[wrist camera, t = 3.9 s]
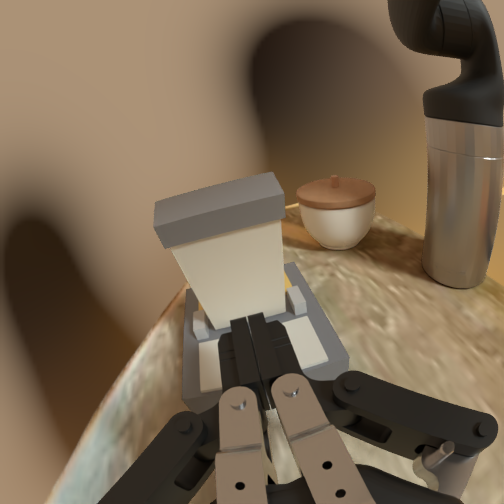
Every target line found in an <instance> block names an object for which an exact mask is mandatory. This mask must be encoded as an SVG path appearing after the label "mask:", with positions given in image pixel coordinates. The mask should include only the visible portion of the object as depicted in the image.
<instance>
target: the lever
mask: <svg viewBox="0 0 504 504" xmlns="http://www.w3.org/2000/svg"><path fill="white" fill-rule="evenodd" d="M283 218H286V216H285V198H284V192H283V190H282V188H281V186H280V185H279V183H278V181H277V179H276V177H275V176H274V173H273V172H268V173H264V174H259V175H255V176H250V177H246V178H242V179H237V180H233V181H229V182H225V183H221V184H217V185H213V186H209V187H206V188H202V189H198V190H194V191H191V192H188V193H184V194H180V195H177V196H173V197H170V198H166V199H163V200H160V201H157V202H155V210H154V229H155V231H156V233H157V235H158V237H159V239H160V241H161V243H162V244H163V246H164V248H165V249H166V248H170V249H171V251H172V253H173V255H174V257H175V259H176V260H177V262H178V264H179V266H180V268H181V270H182V272H183V274H184V275H185V277H186V279H187V281H188V283H189V284H190V286H191V288H192V290H193V292H194V293H195V295H196V297H197V299H198V300H199V302H200V304H201V306H202V307H203V309H204V311H205V312H206V314H207V316H208V318H209V319H210V321H211V323H212V324H213V326H214V328H215V329H216V330H217V329H221V328H226V327H230V326H231V325H230V320H233V319H237V318H241V317H245V316H246V319H247V322H248V318H247V316H249V315H253V314H256V313H260V312H263V314H264V317H269V316H273V315H277V314H280V313H284V312H286V306H285V283H284V263H283V245H282V228H281V219H283Z"/></svg>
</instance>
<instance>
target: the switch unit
mask: <svg viewBox="0 0 504 504" xmlns="http://www.w3.org/2000/svg"><path fill="white" fill-rule="evenodd" d="M284 283H285V306H286V312H284V313H280V314H277V315H273V316H269V317H265V320H266V323H268V322H271V321H275V320H278V321H279V322H280V323H282V324H283V325H284V326H285V328H286V330H287V333H288V336H289V338H290V341H291V344H292V346H293V349H294V351H295V354H296V356H297V359H298V362H299V364H300V367H301V369H302V371H303V373H304V374H305V375H306V376H307V377H309V378H311V379H314V380H319V381H325V380H335V379H336V378H337V377H338V376H339V375H340V374H342V373H344V372H347V371H348V366H349V355H348V353H347V352H346V350H345V348H344V346H343V345H342V343H341V341H340V339H339V338H338V336H337V334H336V332H335V331H334V329H333V327H332V325H331V324H330V322H329V320H328V318H327V317H326V315H325V313H324V311H323V310H322V308H321V306H320V305H319V303H318V301H317V299H316V298H315V296H314V294H313V293H312V291H311V289H310V288H309V286H308V284H307V283H306V281H305V279H304V278H303V276H302V274H301V273H300V271H299V269H298V268H297V266H296V264H295V263H294V262H291V263H287V264H284ZM248 325H249V322H248ZM249 329H250V327H249ZM228 332H231V326H230V327H226V328H221V329H217V330H216V329H215V328H214V326H213V324H212V323H211V321H210V319H209V318H208V316H207V314H206V312H205V311H204V309H203V307H202V306H201V304H200V302H199V300H198V299H197V297H196V295H195V293H194V292H193V290H192V288H190V289H186V302H185V318H184V338H183V367H182V400H183V401H184V403H185V404H186V405H187V406H188V408H189V409H190V410H191V411H192V412H194V413H196V414H197V415H198V414H200V413H202V412H204V411H206V410H208V409H210V408H212V407H214V406H215V405H216V404H217V403H218V402H219V400H220V398H221V396H222V382H221V373H220V363H219V362H220V361H219V353H218V341H219V339H220V336H221V334H224V333H228ZM250 332H251V331H250ZM266 394H267V393H266ZM267 398H268V396H267ZM268 402H269V399H268ZM269 404H270V402H269Z"/></svg>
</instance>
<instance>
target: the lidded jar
mask: <svg viewBox="0 0 504 504" xmlns="http://www.w3.org/2000/svg"><path fill="white" fill-rule="evenodd" d="M375 194H376V193H375V187H374V185H373V184H371V183H370V182H367V181H365V180H361V179H356V178H339V177H338V175H332V176H331V178H328V179H321V180H316V181H313V182H310V183H307V184H305V185H303V186H301V187H300V188H299V189H298V190H297V192H296V195H297V200H298V203H299V210H300V214H301V218H302V221H303V224H304V226H305V228H306V230H307V232H308V233H309V234H310V235H311V237H313V238H314V239H315V240H316V241H318V242H319V244H320V245H321V246H323V247H324V248H327V249H331V250H345V249H350V248H352V247H355V246H356V245H357V244H358V243H359V242H360V240H361V239H362V238H364V236H365V235H366V234H367V233H368V231H369V230H370V228H371V225H372V222H373V218H374V212H375Z"/></svg>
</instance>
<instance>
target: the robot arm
mask: <svg viewBox="0 0 504 504" xmlns="http://www.w3.org/2000/svg"><path fill="white" fill-rule="evenodd" d="M388 10H389V16H390V21H391V24H392V27H393V30H394V32H395V34H396V35H397V37H398V39H399V40H400V41H401V42H402V44H403V45H405V46H406V47H407V48H409V49H410V50H413V51H415V52H418V53H423V54H428V55H434V56H435V55H436V56H443V57H450V58H457V59H460V60H461V74H460V76H459V77H458V78H457V79H456V80H454V81H452V82H450V83H448V84H445V85H442V86H438V87H435V88H431V89H429V90H427V91H425V92H424V94H423V106H424V115H425V125H426V139H427V158H428V193H427V213H426V228H425V236H424V246H423V254H422V266H423V268H424V270H425V271H426V273H427V274H428V275H429V276H431V277H432V278H433V279H435V280H436V281H438V282H440V283H442V284H444V285H447V286H450V287H455V288H471V287H475V286H477V285H479V284H480V283H481V282H483V280H484V278H485V276H486V272H487V269H488V265H489V261H490V257H491V252H492V249H493V244H494V240H495V234H496V229H497V223H498V217H499V211H500V202H501V195H502V184H503V169H504V130H503V107H504V80H503V73H502V67H501V61H500V56H499V49H498V44H497V40H496V35H495V31H494V28H493V24H492V21H491V18H490V16H489V13H488V11H487V9H486V7H485V5H484V4H483V2H482V1H481V0H388ZM247 318H248V322H249V325H248V322H247V319H246V316H245V317H241V318H237V319H233V320H230V325H231V332H228V333H224V334H221V336H220V339H219V341H218V353H219V361H220V362H219V363H220V373H221V382H222V396H221V398H220V400H219V402H218V403H217V404H216V405H215V406H214V407H212V408H210V409H208V410H206V411H204V412H202V413H200V414H198V415H197V414H196V413H194V412H190V411H183V412H180V413H177V414H176V415H174V416H173V417H172V418H171V419H170V420H169V422H168V423H167V424H166V425H165V426H164V428H163V429H162V430H161V431H160V432H159V434H158V435H157V436H156V437H155V438H154V440H153V441H152V442H151V443H150V444H149V446H148V447H147V448H146V449H145V450H144V452H143V453H142V454H141V455H140V456H139V457H138V459H137V460H136V461H135V462H134V463H133V464H132V465H131V467H130V468H129V469H128V470H127V471H126V472H125V473H124V475H123V476H122V477H121V478H120V479H119V480H118V481H117V482H116V484H115V485H114V486H113V487H112V488H111V489H110V490H109V491H108V492H107V493H106V495H105V496H104V497H103V498H102V499H101V500H100V501H99V502H98V503H97V504H188V503H189V502H190V501H191V499H192V498H193V497H194V496H195V494H196V493H197V492H198V490H199V489H200V488H201V486H202V485H203V484H204V482H205V481H206V480H207V478H208V477H209V476H210V474H211V473H212V472H213V470H214V469H215V471H216V494H217V499H215V500H214V501H213V502H212V503H210V504H464V503H463V502H462V501H461V500H460V498H461V496H462V494H463V491H464V489H465V487H466V485H467V483H468V480H469V478H470V476H471V473H472V471H473V468H474V466H475V463H476V461H477V458H478V455H479V454H480V452H482V451H483V450H484V449H485V448H487V447H488V446H489V445H491V444H492V443H493V441H494V440H495V438H496V436H497V433H498V424H497V421H496V419H495V418H494V417H493V416H492V415H490V414H487V413H483V412H479V411H476V410H472V409H468V408H465V407H461V406H458V405H454V404H451V403H448V402H444V401H441V400H438V399H435V398H432V397H429V396H426V395H423V394H420V393H417V392H414V391H411V390H408V389H405V388H402V387H400V386H397V385H394V384H391V383H388V382H386V381H383V380H380V379H378V378H375V377H373V376H370V375H367V374H365V373H362V372H359V371H347V372H344V373H342V374H340V375H339V376H338V377H337V378H336V379H335V380H325V381H319V380H314V379H311V378H309V377H307V376H306V375H305V374H304V373H303V371H302V369H301V367H300V364H299V362H298V359H297V356H296V354H295V351H294V349H293V346H292V344H291V341H290V338H289V336H288V333H287V330H286V328H285V326H284V325H283V324H282V323H280V322H279V321H278V320H275V321H271V322H268V323H266V320H265V317H264V314H263V312H260V313H256V314H253V315H249V316H247ZM249 327H250V329H249ZM250 331H251V332H250ZM266 393H267V394H266ZM267 396H268V398H267ZM268 399H269V402H270V405H271V408H272V409H274V408H276V410H277V413H278V416H279V419H280V423H281V426H282V428H283V431H284V433H285V436H286V439H287V441H288V444H289V446H290V449H291V451H292V454H293V457H294V459H295V462H296V465H297V467H298V470H299V472H300V475H301V477H300V478H298V479H297V480H295V481H293V482H290V483H288V484H278V479H277V474H276V470H275V466H274V461H273V455H272V448H271V442H270V435H269V428H268V420H267V416H266V412H265V411H266V410H270V406H269V402H268ZM337 429H338V430H340V431H342V432H344V433H347V434H349V435H351V436H353V437H355V438H358V439H360V440H362V441H365V442H367V443H369V444H372V445H374V446H376V447H379V448H381V449H384V450H387V451H389V452H392V453H394V454H397V455H400V456H403V457H405V458H408V459H411V460H414V461H413V471H414V473H415V475H416V476H417V477H419V478H421V479H423V480H424V481H425V482H426V484H427V486H428V488H425V487H423V486H420V485H417V484H414V483H411V482H409V481H406V480H404V479H401V478H399V477H396V476H394V475H391V474H389V473H387V472H384V471H382V470H380V469H377V468H375V467H372V466H368V465H362V464H354V462H353V460H352V458H351V456H350V454H349V452H348V450H347V448H346V446H345V444H344V443H343V441H342V439H341V437H340V435H339V433H338V431H337Z"/></svg>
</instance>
